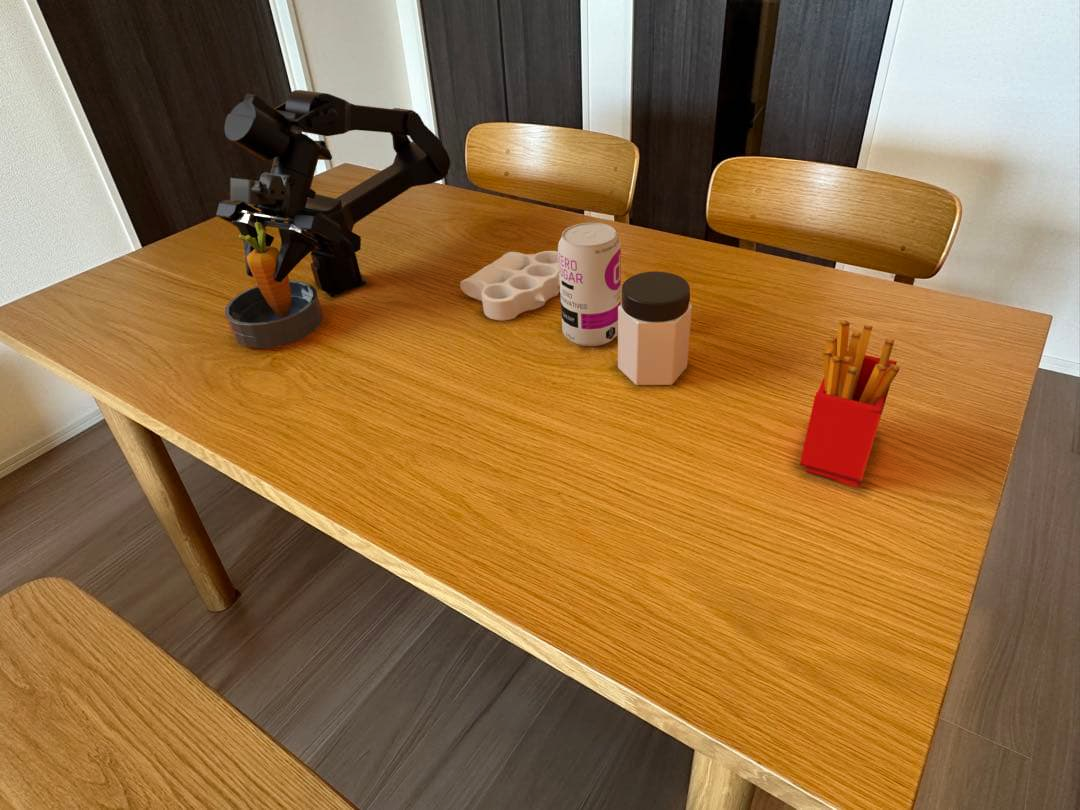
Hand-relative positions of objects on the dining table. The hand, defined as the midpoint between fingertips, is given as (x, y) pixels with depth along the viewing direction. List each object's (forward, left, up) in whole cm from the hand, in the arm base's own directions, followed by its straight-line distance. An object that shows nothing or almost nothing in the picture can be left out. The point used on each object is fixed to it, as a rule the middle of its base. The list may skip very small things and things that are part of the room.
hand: (263, 278), depth 100 cm
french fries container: (-36, +71, -9) cm, 80 cm away
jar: (-33, +46, -9) cm, 57 cm away
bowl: (0, 0, -8) cm, 8 cm away
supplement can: (-33, +34, -9) cm, 48 cm away
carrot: (-1, -1, -8) cm, 8 cm away
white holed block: (-33, +17, -9) cm, 38 cm away
